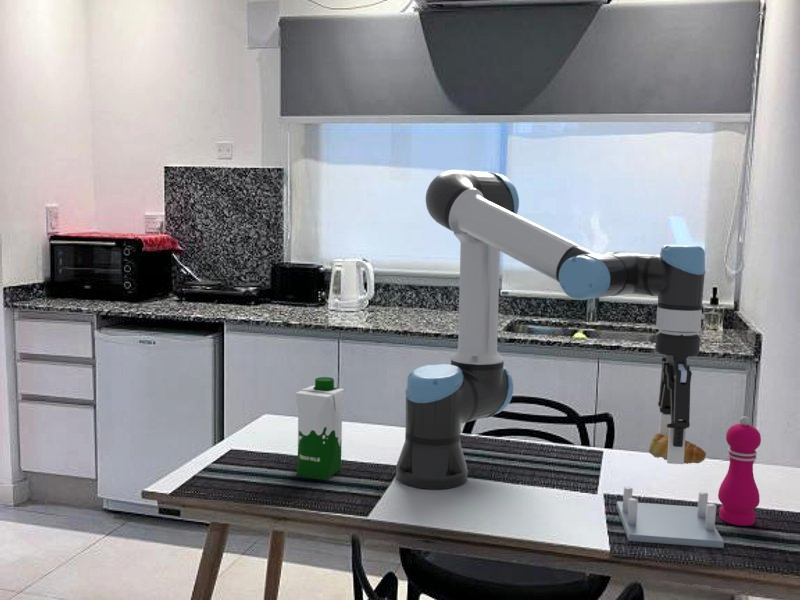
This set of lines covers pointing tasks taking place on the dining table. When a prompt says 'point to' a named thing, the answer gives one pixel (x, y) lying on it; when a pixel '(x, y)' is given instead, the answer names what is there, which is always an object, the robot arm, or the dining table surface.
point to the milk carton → (319, 429)
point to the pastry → (690, 454)
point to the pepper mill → (740, 475)
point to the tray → (669, 522)
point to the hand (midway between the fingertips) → (670, 455)
